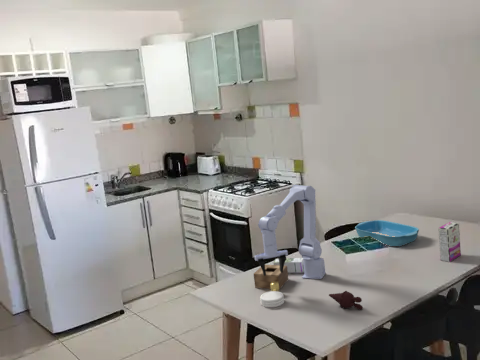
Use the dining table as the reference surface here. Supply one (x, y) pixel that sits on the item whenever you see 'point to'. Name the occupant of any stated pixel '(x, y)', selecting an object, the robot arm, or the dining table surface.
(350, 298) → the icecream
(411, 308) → the dining table surface
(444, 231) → the candy bar box
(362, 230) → the casserole dish
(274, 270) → the box
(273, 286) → the cylinder
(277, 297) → the coaster
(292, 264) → the syrup box
